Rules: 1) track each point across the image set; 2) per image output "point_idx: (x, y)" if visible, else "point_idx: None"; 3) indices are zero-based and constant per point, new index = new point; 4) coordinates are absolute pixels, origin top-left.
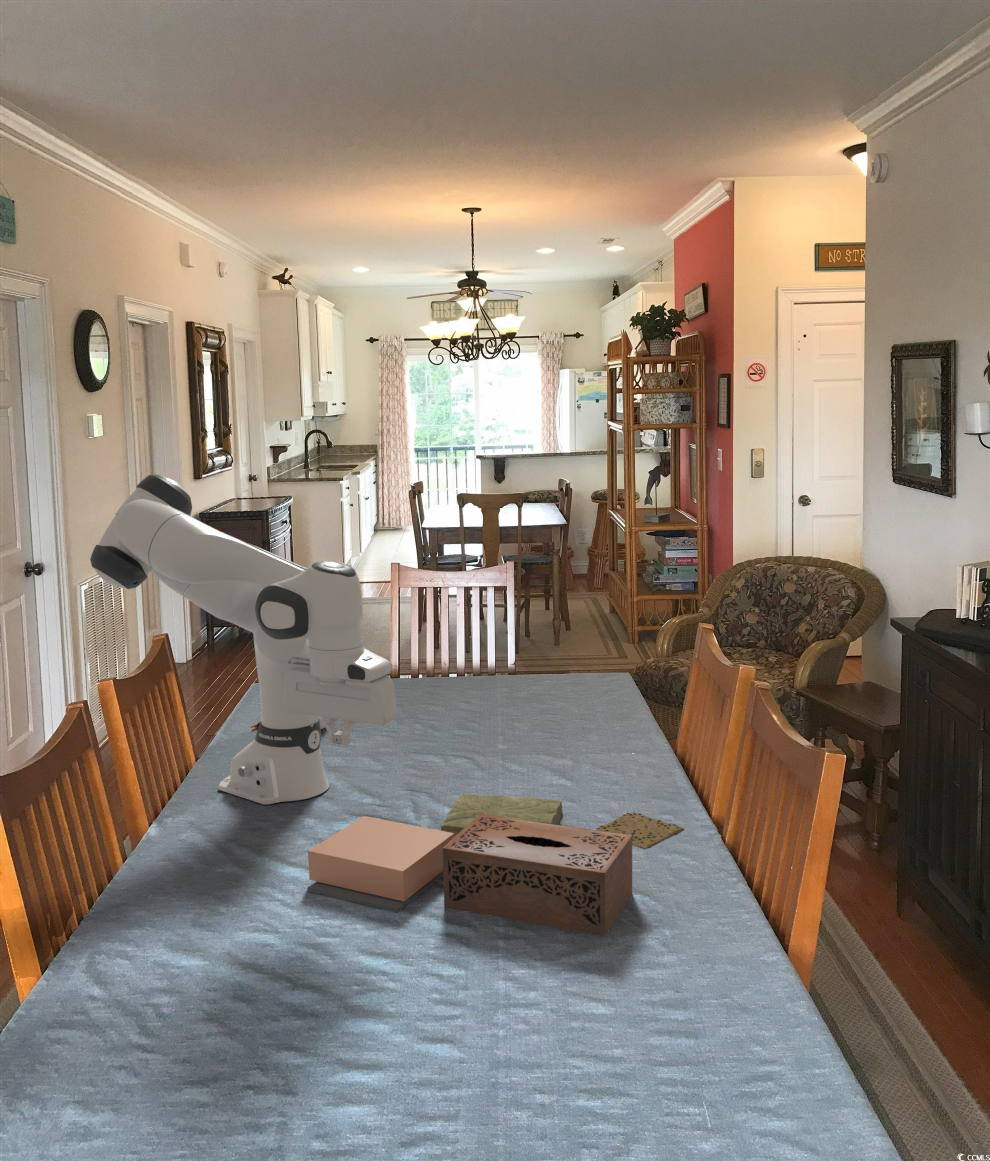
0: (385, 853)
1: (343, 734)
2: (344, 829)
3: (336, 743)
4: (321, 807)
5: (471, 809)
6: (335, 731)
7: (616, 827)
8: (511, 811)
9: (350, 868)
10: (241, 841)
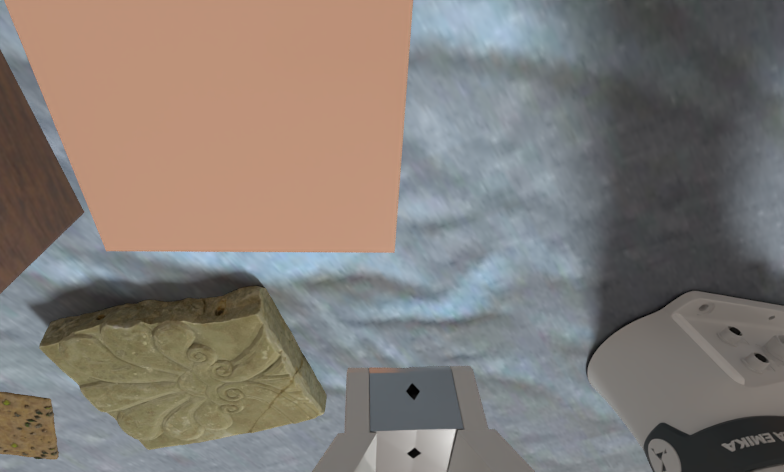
0: (159, 56)
1: (347, 442)
2: (394, 163)
3: (416, 368)
4: (569, 319)
5: (252, 380)
6: (454, 460)
7: (23, 418)
8: (179, 397)
9: None
10: (692, 130)
